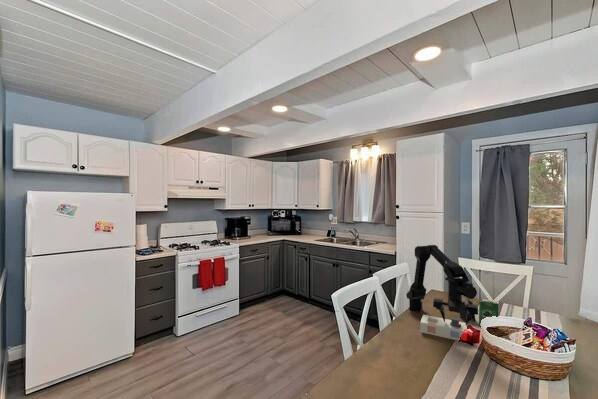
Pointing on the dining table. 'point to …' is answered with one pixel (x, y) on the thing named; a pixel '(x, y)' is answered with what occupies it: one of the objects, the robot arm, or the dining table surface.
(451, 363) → the dining table surface
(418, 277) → the robot arm
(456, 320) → the plug
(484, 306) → the coffee box
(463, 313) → the speaker
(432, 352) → the dining table surface
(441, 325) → the port block
